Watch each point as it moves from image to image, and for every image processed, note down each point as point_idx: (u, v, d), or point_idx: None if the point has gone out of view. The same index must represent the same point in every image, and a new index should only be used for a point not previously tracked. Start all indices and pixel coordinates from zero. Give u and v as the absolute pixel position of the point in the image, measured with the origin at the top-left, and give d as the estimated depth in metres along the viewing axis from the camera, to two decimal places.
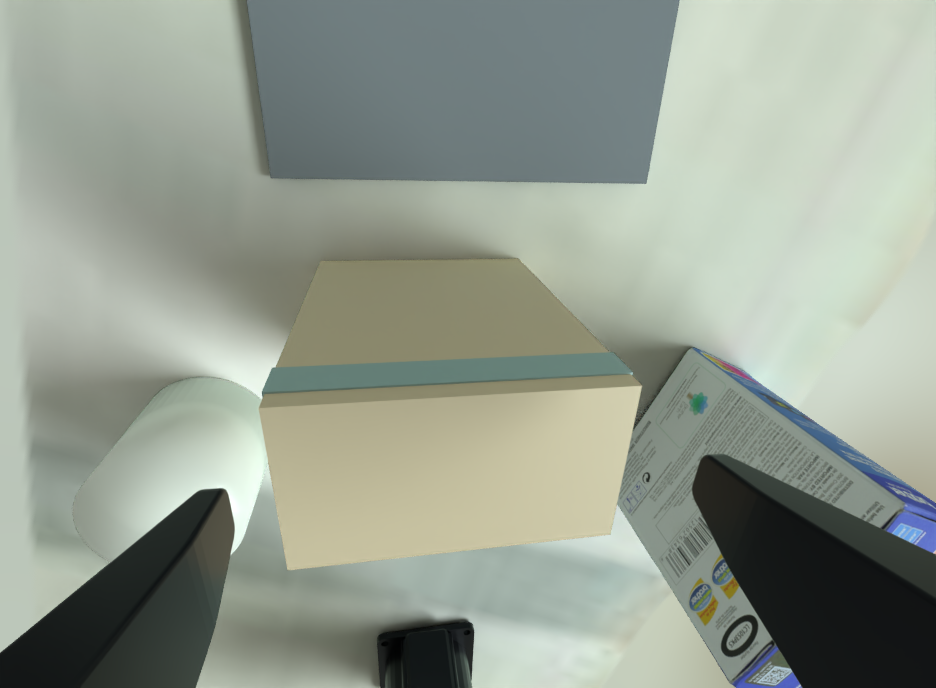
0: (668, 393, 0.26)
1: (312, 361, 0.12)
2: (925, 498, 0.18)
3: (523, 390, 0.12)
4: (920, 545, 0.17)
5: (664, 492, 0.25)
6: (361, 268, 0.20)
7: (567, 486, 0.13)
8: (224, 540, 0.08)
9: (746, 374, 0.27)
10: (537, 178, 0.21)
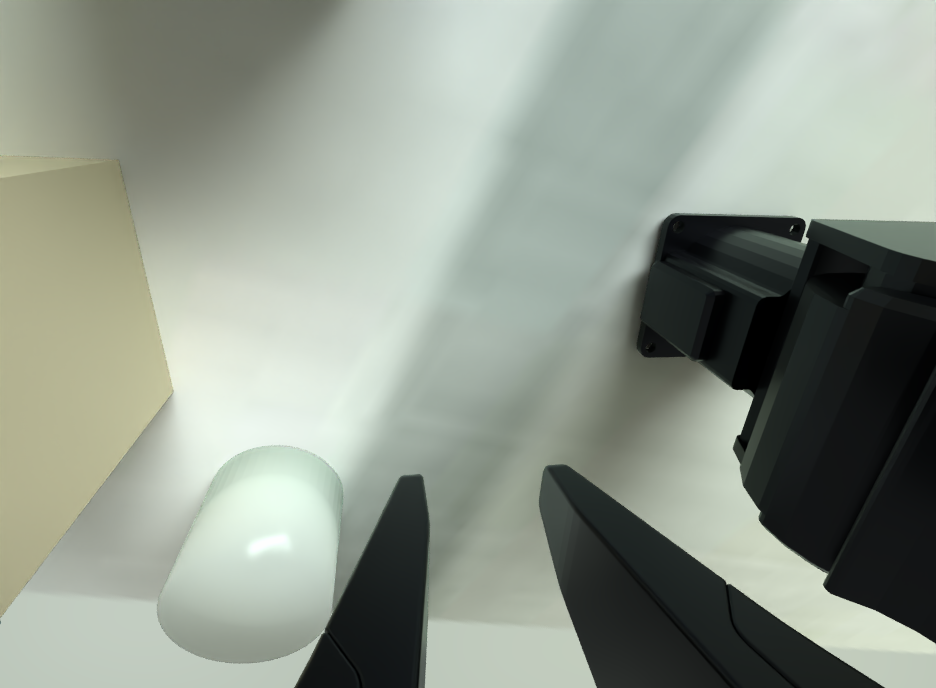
0: None
1: None
2: None
3: None
4: None
5: None
6: None
7: None
8: None
9: None
10: None
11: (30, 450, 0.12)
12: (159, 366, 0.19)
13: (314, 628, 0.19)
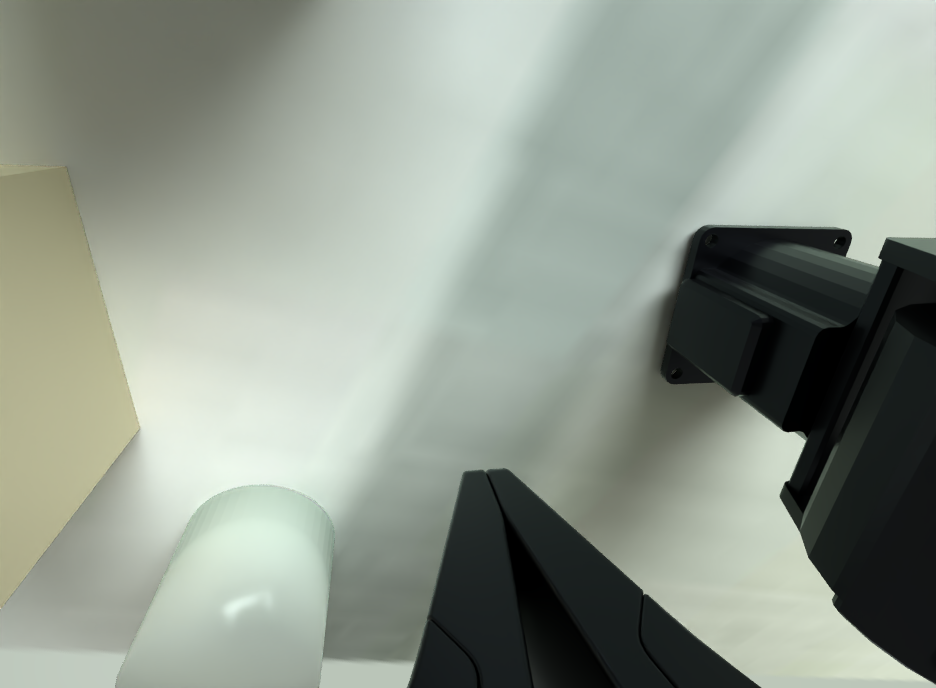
0: None
1: None
2: None
3: None
4: None
5: None
6: None
7: None
8: None
9: None
10: None
11: None
12: (121, 402, 0.16)
13: None
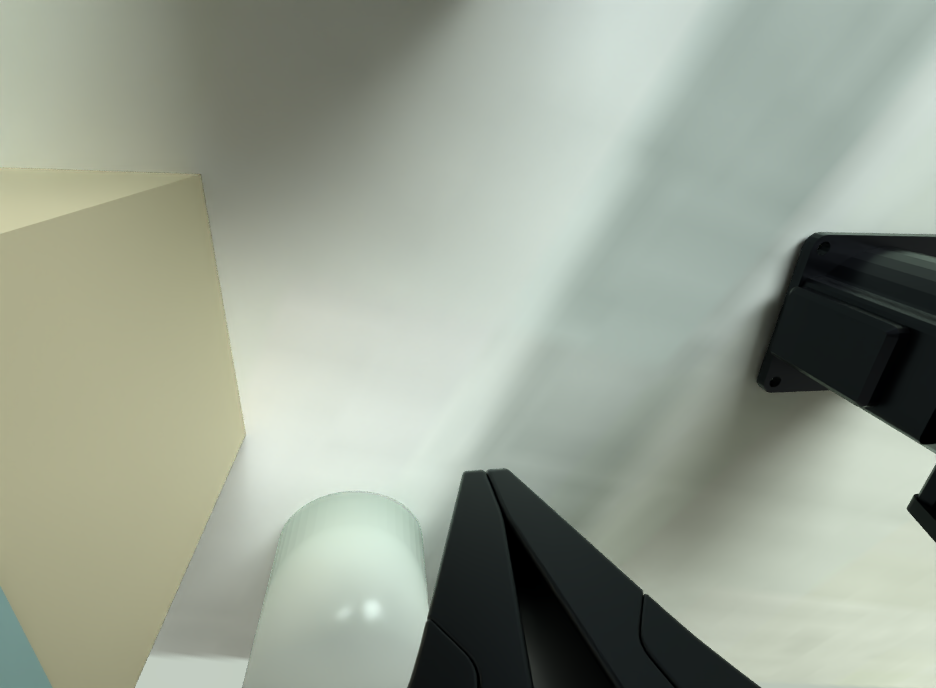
0: None
1: None
2: None
3: None
4: None
5: None
6: None
7: None
8: None
9: None
10: None
11: (125, 544, 0.09)
12: (234, 408, 0.16)
13: None
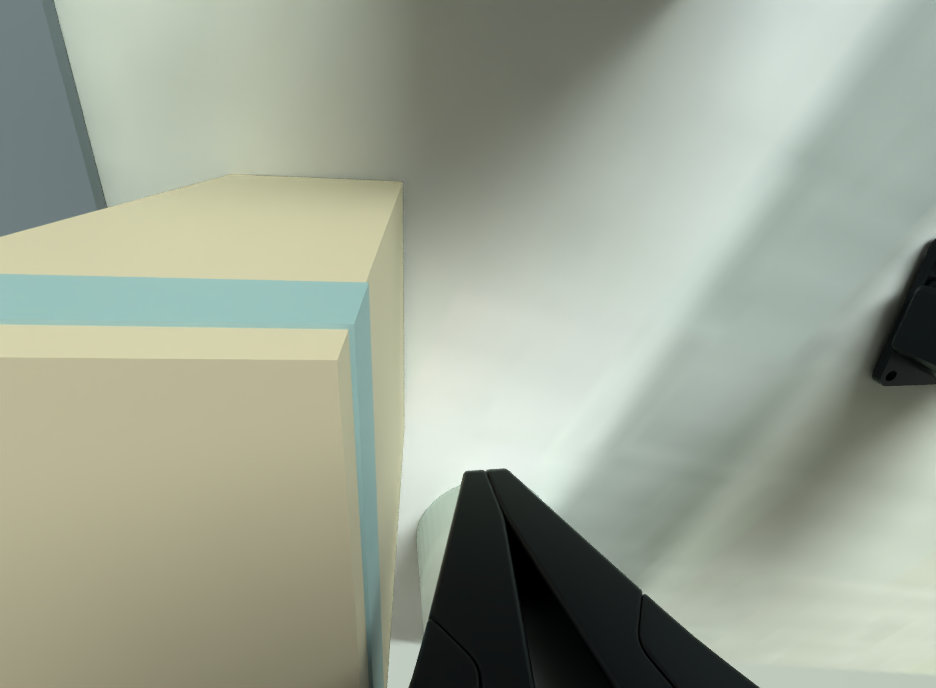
0: None
1: None
2: None
3: None
4: None
5: None
6: None
7: (114, 519, 0.04)
8: None
9: None
10: (75, 154, 0.13)
11: (389, 528, 0.10)
12: (403, 404, 0.17)
13: None
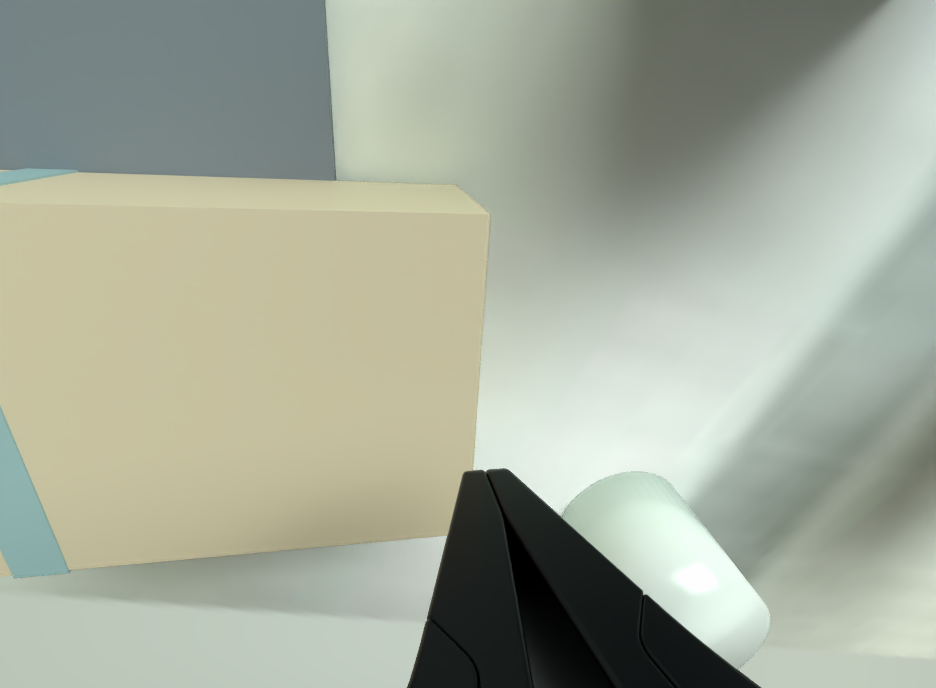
0: None
1: None
2: None
3: None
4: None
5: None
6: None
7: None
8: None
9: None
10: (327, 164, 0.14)
11: (155, 475, 0.11)
12: (448, 494, 0.13)
13: (737, 663, 0.18)
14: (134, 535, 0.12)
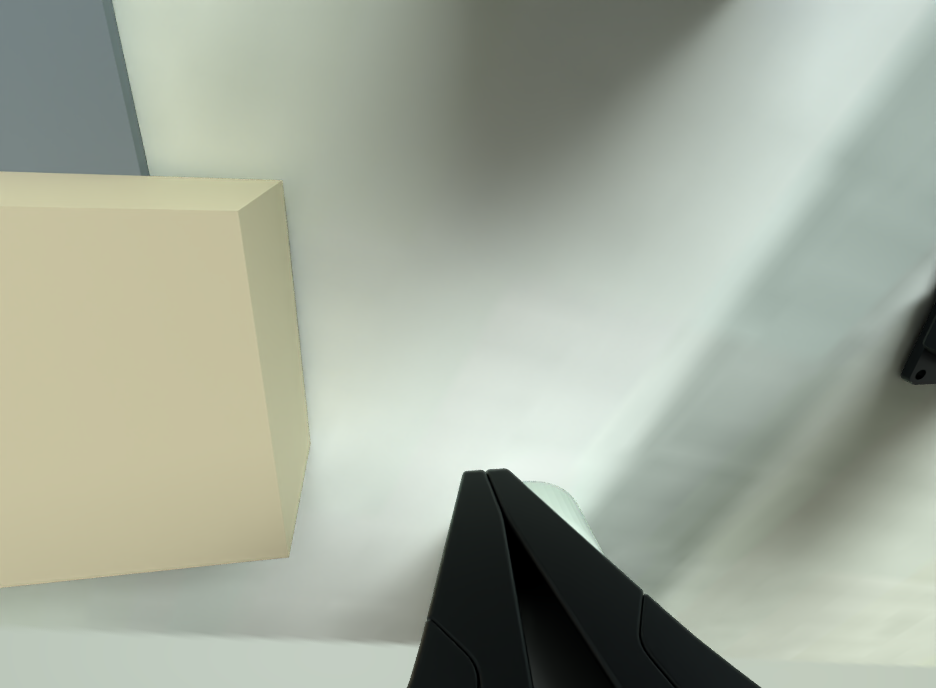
0: None
1: None
2: None
3: None
4: None
5: None
6: None
7: None
8: None
9: None
10: (130, 158, 0.13)
11: None
12: (255, 516, 0.12)
13: None
14: None
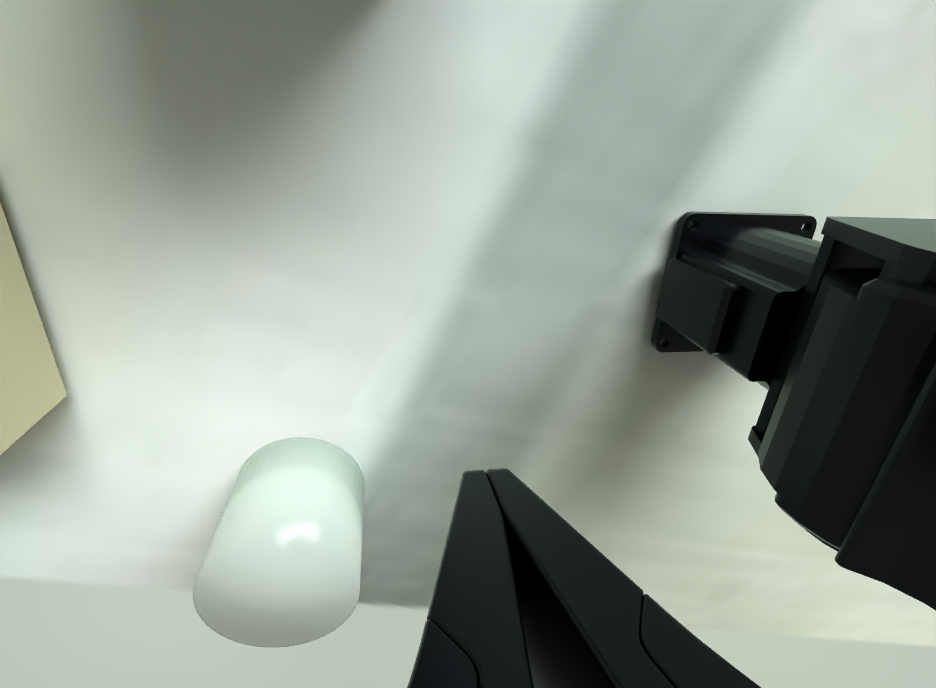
0: None
1: None
2: None
3: None
4: None
5: None
6: None
7: None
8: None
9: None
10: None
11: None
12: None
13: (342, 613, 0.19)
14: None
